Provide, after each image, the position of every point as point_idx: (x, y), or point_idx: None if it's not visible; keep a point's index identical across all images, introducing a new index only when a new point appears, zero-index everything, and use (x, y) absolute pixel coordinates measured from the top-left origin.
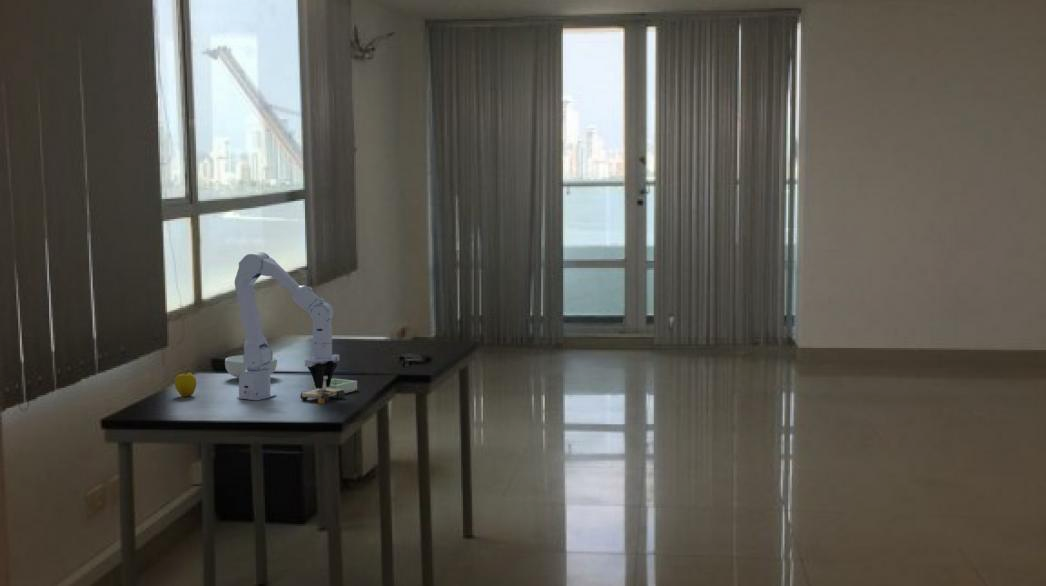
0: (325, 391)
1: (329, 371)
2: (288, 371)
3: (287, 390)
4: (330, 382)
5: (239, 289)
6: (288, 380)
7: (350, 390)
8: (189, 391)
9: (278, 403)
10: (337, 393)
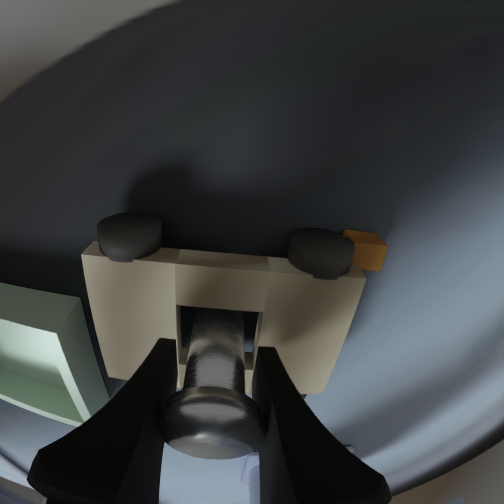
0: (219, 320)
1: (145, 444)
2: (8, 461)
3: None
4: (149, 354)
5: None
6: None
7: None
8: None
9: (388, 390)
10: (156, 248)
